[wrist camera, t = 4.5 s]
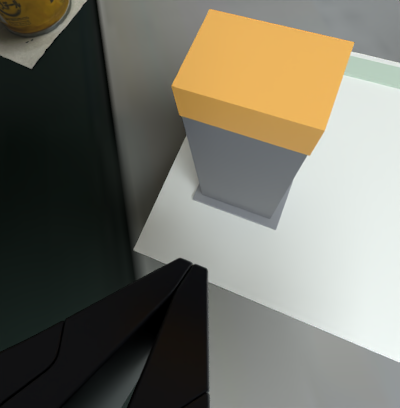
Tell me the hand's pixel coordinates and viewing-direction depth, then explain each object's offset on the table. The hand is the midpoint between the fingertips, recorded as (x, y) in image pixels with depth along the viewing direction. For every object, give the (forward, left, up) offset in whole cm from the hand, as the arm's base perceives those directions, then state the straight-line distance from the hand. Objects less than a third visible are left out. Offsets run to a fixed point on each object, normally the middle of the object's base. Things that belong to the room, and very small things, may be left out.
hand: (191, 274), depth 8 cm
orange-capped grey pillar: (+3, +4, -6) cm, 8 cm away
